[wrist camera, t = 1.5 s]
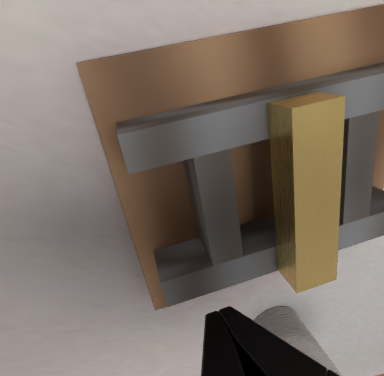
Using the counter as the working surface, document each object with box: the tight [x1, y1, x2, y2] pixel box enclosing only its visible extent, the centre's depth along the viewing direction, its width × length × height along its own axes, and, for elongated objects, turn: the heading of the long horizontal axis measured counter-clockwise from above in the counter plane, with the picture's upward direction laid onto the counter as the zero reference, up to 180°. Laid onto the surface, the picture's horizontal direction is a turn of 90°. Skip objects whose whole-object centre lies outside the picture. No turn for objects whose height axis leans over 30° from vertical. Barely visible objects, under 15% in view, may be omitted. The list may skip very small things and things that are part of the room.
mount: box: [76, 5, 384, 310], centre depth 17 cm, size 18×16×4 cm
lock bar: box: [267, 92, 346, 293], centre depth 14 cm, size 2×10×2 cm, turn 11°
